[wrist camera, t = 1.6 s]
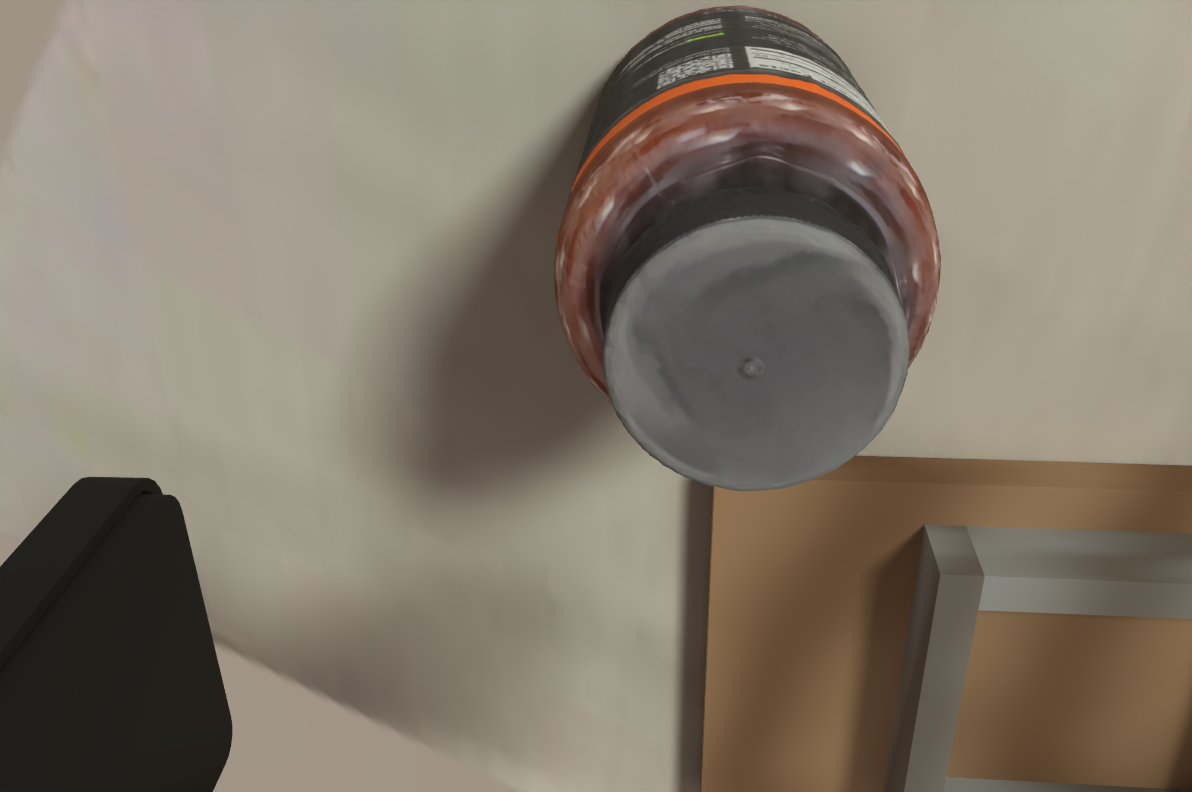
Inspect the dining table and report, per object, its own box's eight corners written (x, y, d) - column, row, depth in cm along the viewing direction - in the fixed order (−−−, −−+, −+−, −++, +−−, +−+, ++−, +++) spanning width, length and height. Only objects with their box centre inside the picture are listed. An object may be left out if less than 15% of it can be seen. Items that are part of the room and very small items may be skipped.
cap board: (1549, 476, 26) (1652, 556, 23) (1385, 823, 32) (1452, 921, 29) (714, 451, 28) (715, 523, 25) (700, 785, 33) (700, 875, 30)
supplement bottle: (724, 315, 26) (740, 627, 16) (538, 144, 24) (427, 372, 14) (922, 136, 23) (1087, 371, 14) (730, -67, 22) (757, 31, 12)
